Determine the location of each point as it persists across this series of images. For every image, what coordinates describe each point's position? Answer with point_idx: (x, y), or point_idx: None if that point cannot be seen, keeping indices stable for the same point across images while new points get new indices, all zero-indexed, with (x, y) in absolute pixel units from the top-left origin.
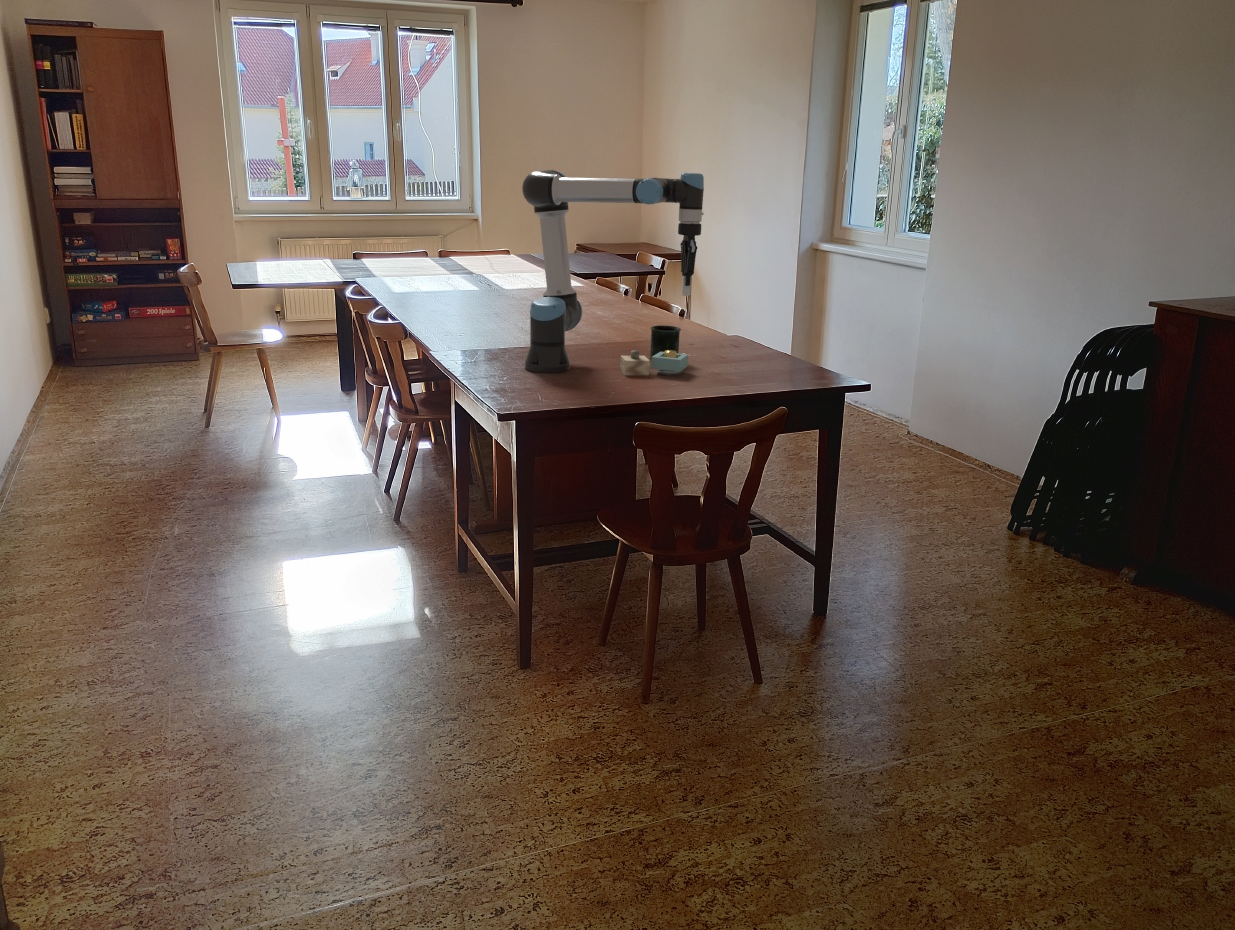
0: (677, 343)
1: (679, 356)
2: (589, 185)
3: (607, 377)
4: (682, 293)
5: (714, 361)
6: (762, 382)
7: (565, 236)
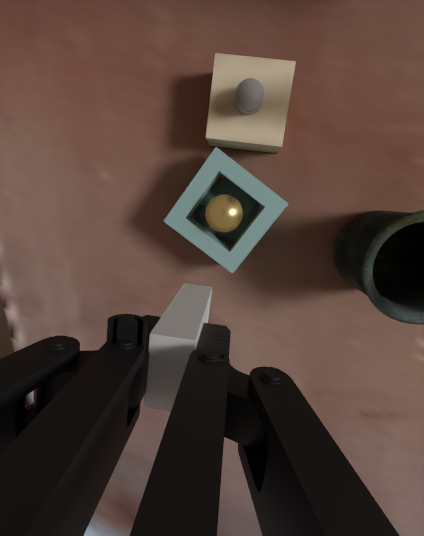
0: (360, 289)
1: (209, 236)
2: None
3: (202, 10)
4: (187, 287)
5: (336, 378)
6: None
7: None
